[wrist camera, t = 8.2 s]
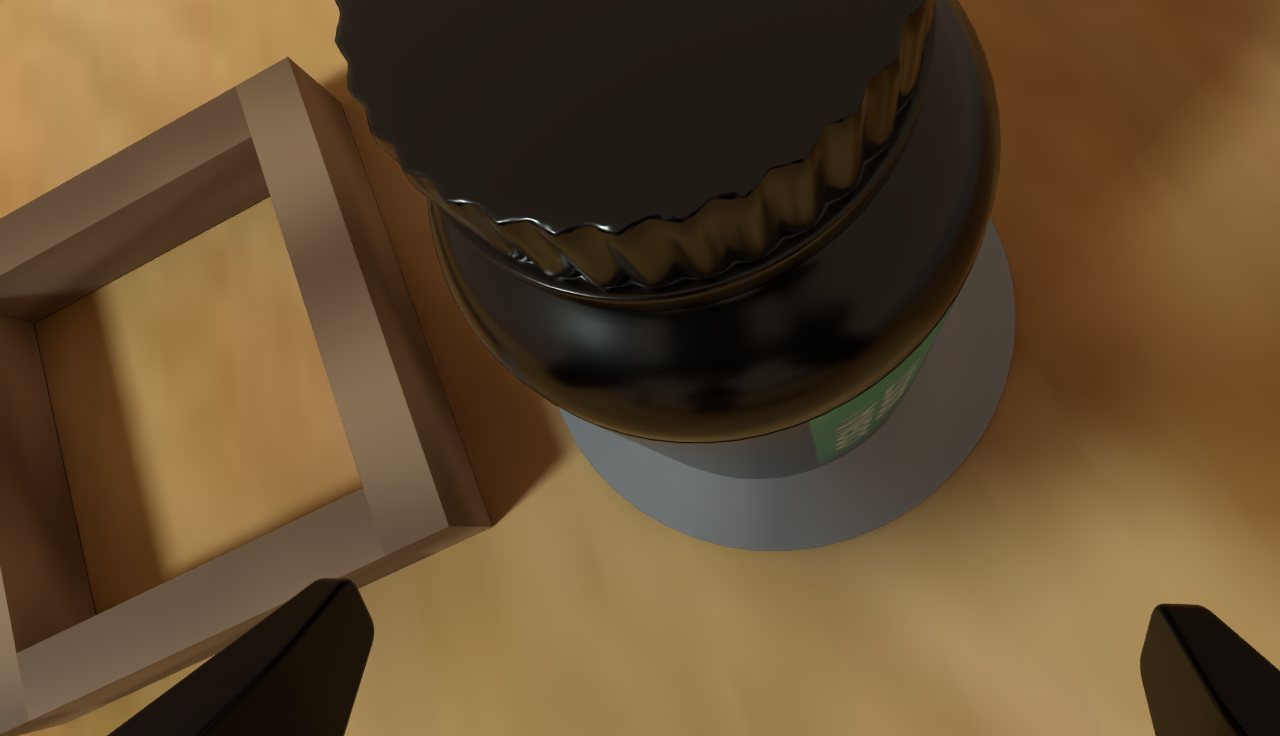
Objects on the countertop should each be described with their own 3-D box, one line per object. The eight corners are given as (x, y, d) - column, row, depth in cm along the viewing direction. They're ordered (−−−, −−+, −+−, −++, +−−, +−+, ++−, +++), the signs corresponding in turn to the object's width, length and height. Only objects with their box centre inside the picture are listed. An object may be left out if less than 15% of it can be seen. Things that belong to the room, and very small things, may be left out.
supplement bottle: (954, 457, 16) (1243, 279, 5) (622, 502, 18) (219, 450, 6) (891, 143, 18) (993, -568, 6) (588, 207, 19) (215, -282, 8)
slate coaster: (1106, 232, 17) (1113, 226, 16) (846, 650, 16) (846, 653, 16) (700, 40, 20) (697, 31, 19) (470, 390, 19) (463, 387, 19)
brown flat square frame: (492, 526, 19) (448, 526, 16) (64, 723, 20) (-26, 746, 18) (340, 102, 22) (287, 56, 20) (-20, 300, 23) (-105, 277, 21)
